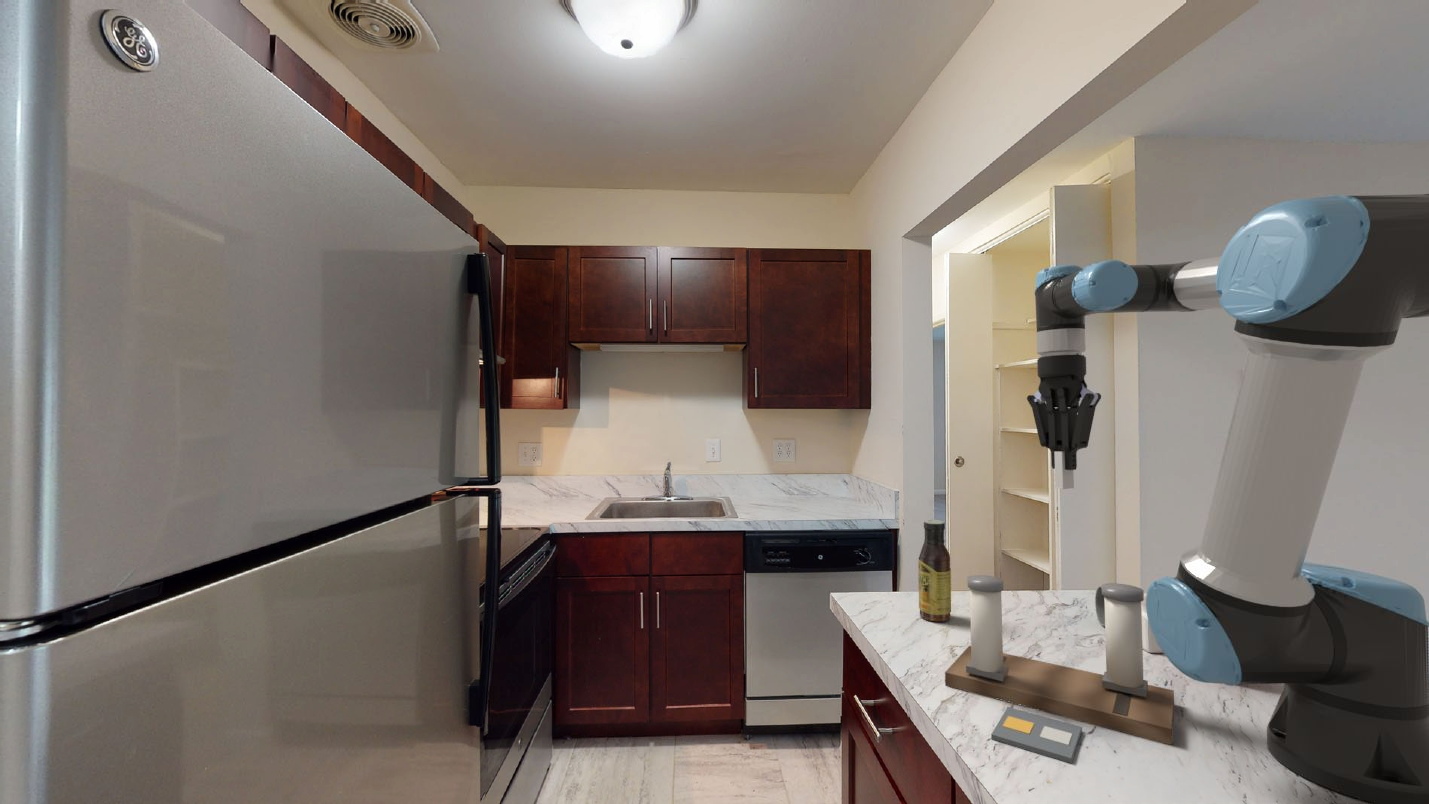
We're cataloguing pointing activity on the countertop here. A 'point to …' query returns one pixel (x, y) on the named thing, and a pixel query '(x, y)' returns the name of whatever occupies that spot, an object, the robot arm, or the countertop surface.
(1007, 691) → the brown wooden board
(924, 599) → the sauce bottle
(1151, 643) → the salt shaker
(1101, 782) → the countertop surface
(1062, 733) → the card
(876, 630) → the countertop surface
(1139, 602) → the near slider
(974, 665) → the far slider
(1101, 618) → the ceramic mug
